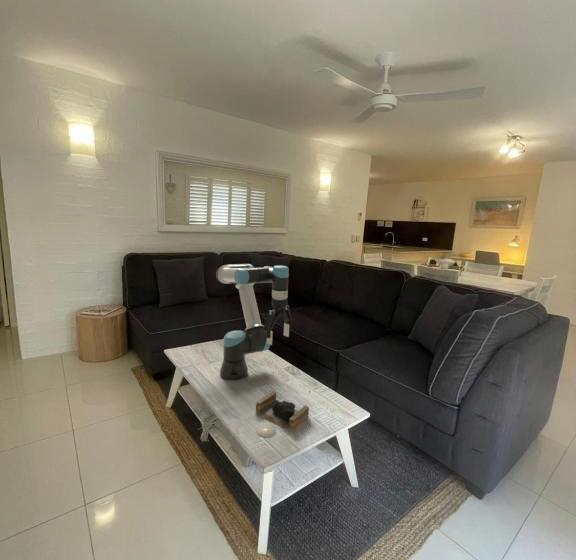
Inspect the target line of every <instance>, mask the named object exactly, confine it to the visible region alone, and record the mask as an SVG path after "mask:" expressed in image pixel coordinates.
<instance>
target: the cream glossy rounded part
mask: <svg viewBox="0 0 576 560" xmlns="http://www.w3.org/2000/svg"><path fill="white" fill-rule="evenodd" d="M256 433H257V435H258V436H259V437H263V438H271V437H273V436H274V435H276V433H277V428H276V426H275V424H272V423H269V422H263V423H260V424H258V426H256Z"/></svg>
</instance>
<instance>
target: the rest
mask: <svg viewBox="0 0 576 560" xmlns="http://www.w3.org/2000/svg"><path fill="white" fill-rule="evenodd" d="M276 400H277V391H274V390H272V391H270V392H269V393H268V394H267V395H265V396H263V397H261V398H260V399H259V400H258V401H256V402H255V414H257V415H259V416H262V417H263V418H265V419H267V420H269V421H271V422H272V423H275V424H277V425H279V426H280V427H283V429H286V430H288V431H290V432H292V433H294V431H296V430H297V429H298V428H299V427H300V426H301V425H302V424H303V423H304V422H305V421H306V420H307V419H309V413H310V412H309V411H310V406H308V405H303V406H302V407H301V408H300V409H299V410H298V409H296V408H295V409H294V410H295V412H294V414H293V416H292V417H291V418H290V419H289V421H285V420H283V419H281V418H279V417H278V416H277V415H276V413H274V412H273V411H272V405H273V404H274V402H275V401H276Z"/></svg>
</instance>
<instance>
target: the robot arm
mask: <svg viewBox="0 0 576 560" xmlns="http://www.w3.org/2000/svg"><path fill="white" fill-rule="evenodd" d="M289 271H290V270H289V267H288V266H286V265H274V266H270V265H266V266H263V267H254V266H253V265H252V264H251V263H235V264H234V263H233V264H230V263H227V264H223V265H221V266H220V267H218V269H217V270H216V272H215V277H216V280H217V281H218V282H220V283H221V284H227V285H229V284H230V285H231V284H232V285H234V286H235V288H236V289H238V293H239V297H240V302H241V306H242V312H243V316H244V321H245V325H246V328H245V329H244V330H232V331H228V332H226V333H225V335H224V337H223V341H222V345H223V361H222V364H221V367H220V369H219V374H220V375H219V376H220V377H221V378H222V379H225V380H230V381H235V380H236V381H237V380H241V379H243V378H245V377H247V376H248V372H249V369H248V365H247V361H246V355H248V354H250V355H251V354H254V353H262V352H265V351H267V350H269V349H270V348H271V347H270V346H272V345H273V331H272V330H273V328H274V326H275V324H276V322H277V321H278V319H279V318H282V320H283V321H284V323H283V336H284V337H287V338H289V337H290V325H292V322H293V317H292V312H291V311H290V305H288V297H289V296H288V293H289V292H288V291H289V278H290V273H289ZM264 283H270V284H272V285H271V287H272V289H271V297H272V298H271V306H272V310H271V309H269V310H268V312H267V317H266V320H265V323H264V325H263V324H262V322H261V317H260V311H259V308H258V303H257V299H256V295H255V289H254V285H255V284H264Z"/></svg>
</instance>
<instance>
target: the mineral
mask: <svg viewBox="0 0 576 560" xmlns="http://www.w3.org/2000/svg"><path fill="white" fill-rule="evenodd" d="M294 409H296V405H295V404H294V403H293V402H288V401H287V400H286V401H285V400H281V399H278V400H277V399H276V401H275V402H274V404H273V405H272V411H273V412H274V413H276V415H277V416H278V417H279V418H281V419H283V420H285V421H289V419H290V418H291V417H292V416H293V414H294V412H295V410H294Z"/></svg>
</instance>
